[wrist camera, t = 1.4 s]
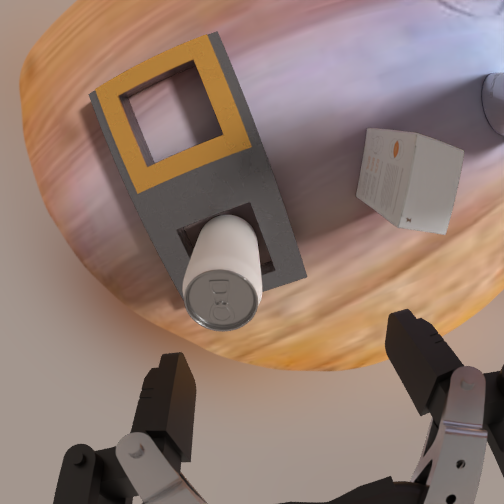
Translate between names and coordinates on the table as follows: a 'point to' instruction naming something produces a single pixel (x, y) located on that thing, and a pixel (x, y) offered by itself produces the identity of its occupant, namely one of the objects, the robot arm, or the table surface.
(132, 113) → the grey slotted tray
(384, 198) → the small box
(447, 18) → the table surface
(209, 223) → the can
